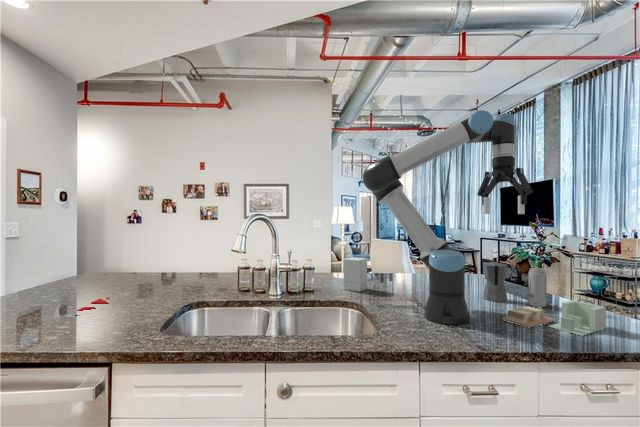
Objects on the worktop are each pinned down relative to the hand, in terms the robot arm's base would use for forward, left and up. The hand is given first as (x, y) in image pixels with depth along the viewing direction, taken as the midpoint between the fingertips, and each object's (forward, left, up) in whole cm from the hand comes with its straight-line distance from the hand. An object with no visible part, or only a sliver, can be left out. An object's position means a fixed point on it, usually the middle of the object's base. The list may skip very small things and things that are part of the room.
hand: (503, 214), depth 127 cm
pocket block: (+4, -22, -37) cm, 43 cm away
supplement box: (-27, +58, -37) cm, 74 cm away
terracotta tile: (-2, -11, -37) cm, 38 cm away
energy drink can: (+20, -1, -37) cm, 42 cm away
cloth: (-135, +79, -38) cm, 161 cm away
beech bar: (-3, -11, -36) cm, 37 cm away
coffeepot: (+14, +13, -37) cm, 42 cm away
